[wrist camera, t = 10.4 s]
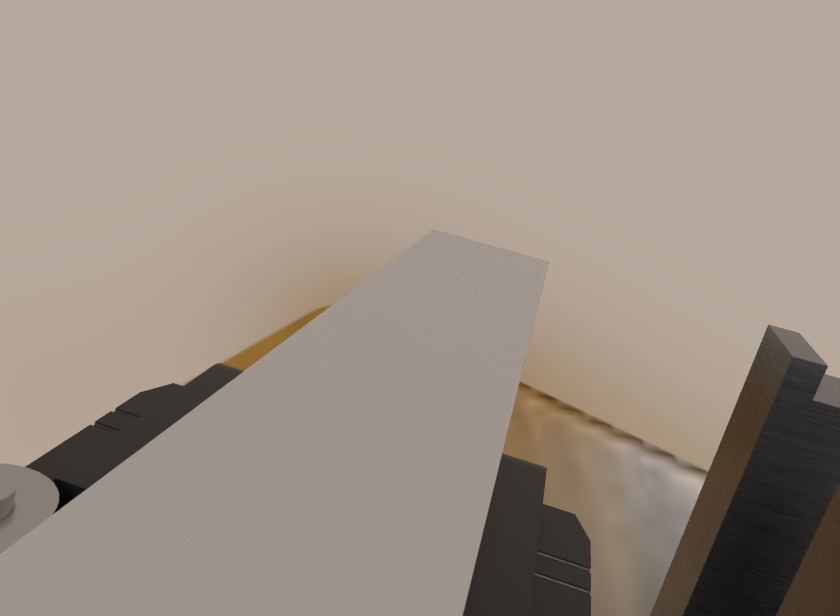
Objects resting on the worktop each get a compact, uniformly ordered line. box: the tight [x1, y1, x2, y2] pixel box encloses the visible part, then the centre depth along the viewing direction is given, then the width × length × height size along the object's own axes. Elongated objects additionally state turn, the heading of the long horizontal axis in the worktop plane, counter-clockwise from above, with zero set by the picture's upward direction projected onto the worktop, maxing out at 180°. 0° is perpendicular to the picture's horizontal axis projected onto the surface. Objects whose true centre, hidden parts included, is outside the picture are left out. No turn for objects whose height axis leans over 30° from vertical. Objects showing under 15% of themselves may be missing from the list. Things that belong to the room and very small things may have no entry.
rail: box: [0, 230, 549, 616], centre depth 13 cm, size 18×4×4 cm, turn 167°
